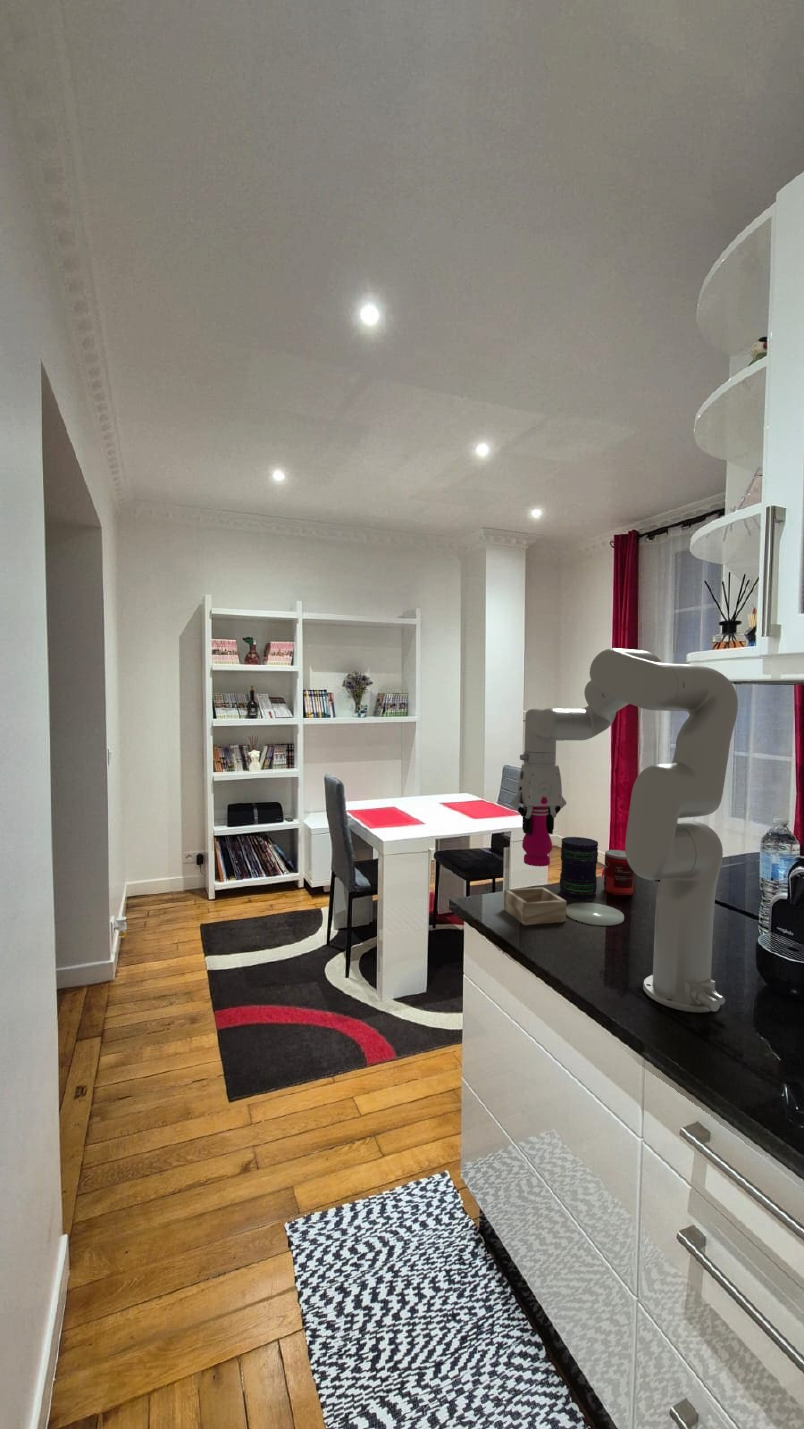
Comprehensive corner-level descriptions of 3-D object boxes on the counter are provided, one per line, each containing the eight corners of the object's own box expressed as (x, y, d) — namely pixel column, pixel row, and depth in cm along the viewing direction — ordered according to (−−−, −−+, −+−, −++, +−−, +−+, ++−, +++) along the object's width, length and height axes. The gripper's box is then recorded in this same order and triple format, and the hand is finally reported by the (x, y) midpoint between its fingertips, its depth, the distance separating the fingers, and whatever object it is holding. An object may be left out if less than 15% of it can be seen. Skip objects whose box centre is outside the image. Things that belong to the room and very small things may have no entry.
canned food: (612, 886, 176) (614, 848, 175) (638, 893, 169) (640, 854, 169) (597, 890, 171) (599, 852, 170) (623, 898, 165) (625, 858, 164)
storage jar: (599, 902, 161) (601, 846, 160) (561, 899, 162) (563, 843, 162) (593, 890, 171) (595, 838, 170) (557, 888, 172) (559, 835, 172)
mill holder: (565, 921, 145) (566, 901, 145) (524, 925, 142) (525, 904, 142) (542, 906, 156) (543, 887, 156) (503, 909, 153) (504, 889, 153)
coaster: (636, 923, 146) (636, 919, 146) (585, 927, 142) (585, 924, 142) (601, 903, 159) (601, 900, 159) (554, 907, 155) (554, 904, 155)
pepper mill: (552, 868, 144) (554, 784, 144) (521, 865, 146) (523, 782, 145) (551, 860, 151) (553, 780, 151) (521, 858, 153) (523, 779, 152)
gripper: (515, 760, 142) (513, 838, 142) (578, 760, 147) (577, 835, 147) (501, 758, 149) (499, 831, 150) (562, 758, 154) (560, 829, 154)
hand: (538, 832), depth 148 cm, fingers closed on pepper mill, 5 cm apart
